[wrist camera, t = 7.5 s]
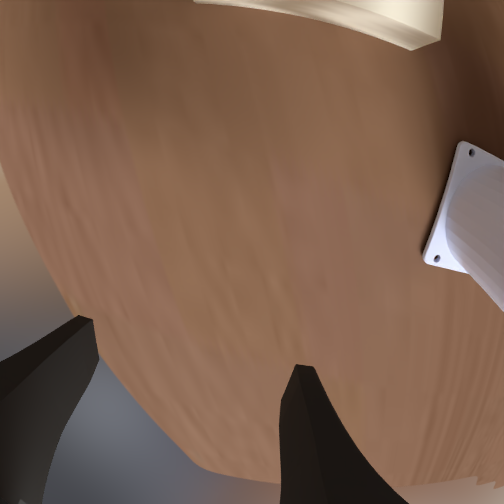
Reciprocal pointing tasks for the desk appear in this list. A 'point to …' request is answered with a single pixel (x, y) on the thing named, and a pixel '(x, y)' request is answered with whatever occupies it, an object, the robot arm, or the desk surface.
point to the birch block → (365, 16)
